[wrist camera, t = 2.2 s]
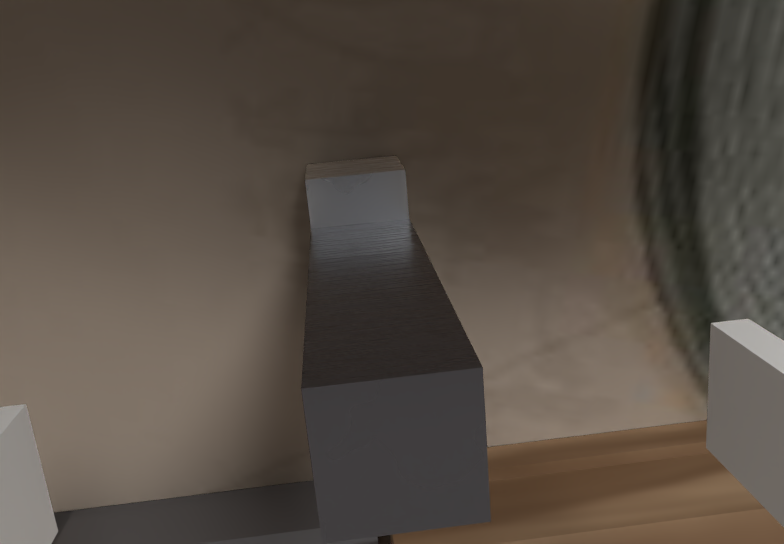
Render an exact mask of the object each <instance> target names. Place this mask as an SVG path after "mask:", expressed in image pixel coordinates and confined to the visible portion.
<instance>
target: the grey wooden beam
mask: <svg viewBox="0 0 784 544" xmlns="http://www.w3.org/2000/svg"><path fill="white" fill-rule="evenodd" d="M305 184H306V193H307V201H308V209H309V217H310V225H311V236H310V253H309V269H308V286H307V302H306V319H305V336H304V352H303V369H302V385H301V390H302V398H303V405H304V413H305V420H306V427H307V435H308V442H309V449H310V457H311V464H312V472H313V479H314V486H315V494H316V501H317V509H318V516H319V523H320V531H321V538H322V544H324V543H332V542H339V541H347V540H355V539H362V538H370V537H378V536H386V535H393V534H401V533H409V532H416V531H424V530H432V529H439V528H447V527H455V526H462V525H470V524H478V523H485V522H491V512H490V493H489V475H488V457H487V439H486V421H485V402H484V384H483V367H482V365H481V363H480V361H479V359H478V357H477V355H476V353H475V351H474V349H473V347H472V345H471V343H470V341H469V339H468V337H467V335H466V333H465V331H464V329H463V327H462V325H461V323H460V321H459V319H458V317H457V314H456V312H455V310H454V308H453V306H452V304H451V302H450V300H449V298H448V296H447V294H446V292H445V290H444V288H443V286H442V284H441V282H440V280H439V278H438V276H437V274H436V272H435V270H434V268H433V266H432V264H431V262H430V260H429V258H428V256H427V254H426V252H425V250H424V248H423V245H422V243H421V241H420V239H419V237H418V235H417V233H416V231H415V229H414V227H413V225H412V223H411V221H410V219H409V210H408V197H407V185H406V173H405V169H404V167H403V166H402V164H401V162H400V161H399V159H398V158H397V156H396V155H395V156H385V157H375V158H365V159H355V160H345V161H335V162H325V163H315V164H307V168H306V176H305Z"/></svg>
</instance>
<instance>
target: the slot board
mask: <svg viewBox="0 0 784 544" xmlns="http://www.w3.org/2000/svg"><path fill="white" fill-rule="evenodd" d="M706 435H707V420H704V421H696V422H688V423H680V424H672V425H664V426H656V427H647V428H639V429H631V430H623V431H615V432H607V433H599V434H591V435H583V436H575V437H567V438H559V439H551V440H542V441H534V442H526V443H518V444H510V445H502V446H494V447H487V457H488V475H489V493H490V512H491V522H485V523H478V524H470V525H462V526H455V527H447V528H439V529H432V530H424V531H416V532H409V533H401V534H393V535H390V539H391V544H784V527H783V526H782V525H781V524H780V523H779V522H778V521H777V520H776V519H775V518H774V517H773V516H772V515H771V514H770V513H769V512H768V511H767V510H766V509H765V508H764V507H763V506H762V505H761V504H760V503H759V502H758V501H757V499H756V498H755V497H754V496H753V495H752V494H751V493H750V492H749V491H748V490H747V489H746V488H745V487H744V486H743V485H742V484H741V483H740V482H739V481H738V480H737V479H736V478H735V477H734V476H733V475H732V474H731V473H730V472H729V471H728V470H727V469H726V468H725V467H724V466H723V465H722V464H721V463H720V461H719V460H718V459H717V458H716V457H715V456H714V455H713V454H712V453H711V452H710V451H709V450H708V449H707V448H706Z"/></svg>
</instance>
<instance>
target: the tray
mask: <svg viewBox="0 0 784 544" xmlns="http://www.w3.org/2000/svg"><path fill="white" fill-rule="evenodd" d="M54 516H55V520H56V524H57V528H58V533H57V534H56V536H55V538H54V540H53V542H52V544H322V538H321V531H320V523H319V516H318V509H317V501H316V494H315V486H314V480H313V481H305V482H297V483H289V484H281V485H273V486H265V487H257V488H249V489H241V490H233V491H225V492H217V493H209V494H201V495H193V496H185V497H177V498H169V499H161V500H153V501H145V502H137V503H129V504H121V505H113V506H105V507H97V508H89V509H81V510H73V511H65V512H57V513H54ZM324 544H378V537H370V538H362V539H355V540H347V541H339V542H332V543H324Z"/></svg>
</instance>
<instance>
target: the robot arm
mask: <svg viewBox="0 0 784 544" xmlns="http://www.w3.org/2000/svg"><path fill="white" fill-rule="evenodd" d="M706 448H707V449H708V450H709V451H710V452H711V453H712V454H713V455H714V456H715V457H716V458H717V459H718V460H719V461H720V463H721V464H722V465H723V466H724V467H725V468H726V469H727V470H728V471H729V472H730V473H731V474H732V475H733V476H734V477H735V478H736V479H737V480H738V481H739V482H740V483H741V484H742V485H743V486H744V487H745V488H746V489H747V490H748V491H749V492H750V493H751V494H752V495H753V496H754V497H755V498H756V499H757V501H758V502H759V503H760V504H761V505H762V506H763V507H764V508H765V509H766V510H767V511H768V512H769V513H770V514H771V515H772V516H773V517H774V518H775V519H776V520H777V521H778V522H779V523H780V524H781V525H782V526H783V527H784V341H783V340H782V339H780V338H778V337H777V336H775V335H774V334H772V333H770V332H769V331H767V330H766V329H764V328H762V327H761V326H759V325H758V324H756V323H754V322H753V321H751V320H750V319H741V320H733V321H724V322H716V323H711V330H710V356H709V382H708V409H707V435H706ZM57 533H58V528H57V524H56V520H55V516H54V512H53V508H52V504H51V500H50V497H49V493H48V489H47V485H46V481H45V477H44V473H43V469H42V465H41V461H40V457H39V453H38V449H37V445H36V441H35V437H34V433H33V429H32V425H31V421H30V417H29V413H28V409H27V405H26V404H22V405H14V406H5V407H0V544H52V542H53V540H54V538H55V536H56V534H57Z"/></svg>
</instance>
